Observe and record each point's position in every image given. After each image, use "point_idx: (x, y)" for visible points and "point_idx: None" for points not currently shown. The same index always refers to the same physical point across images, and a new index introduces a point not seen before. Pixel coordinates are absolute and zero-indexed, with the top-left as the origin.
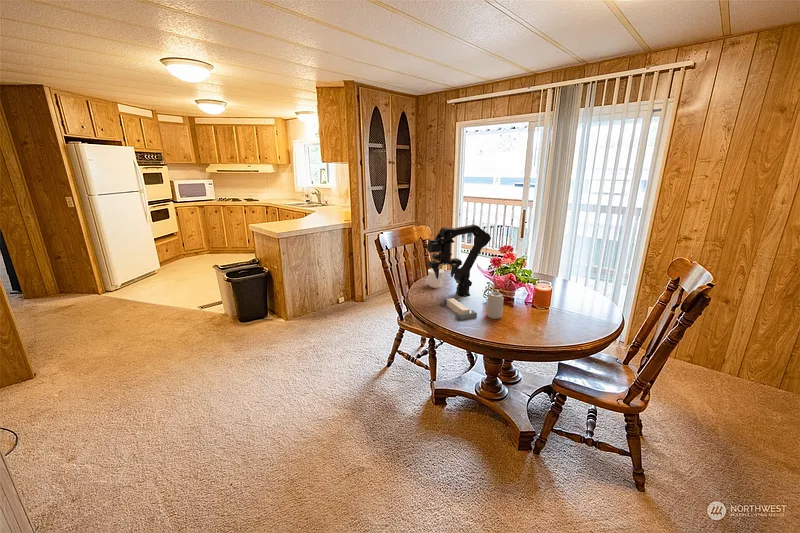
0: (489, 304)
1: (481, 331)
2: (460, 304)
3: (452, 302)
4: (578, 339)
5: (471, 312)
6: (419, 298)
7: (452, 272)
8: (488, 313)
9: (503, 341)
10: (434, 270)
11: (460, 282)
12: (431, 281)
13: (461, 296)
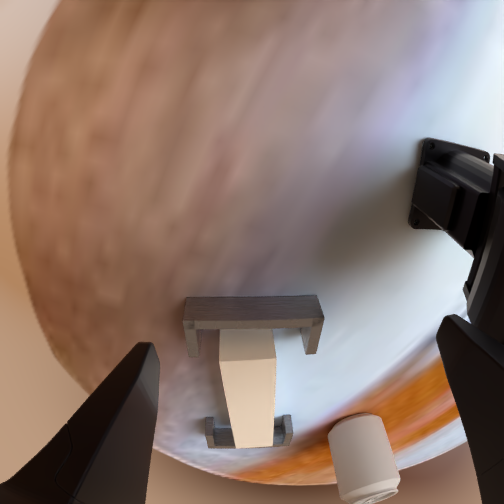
0: (336, 476)
1: (243, 464)
2: (262, 419)
3: (230, 399)
4: (399, 467)
5: (285, 425)
6: (58, 154)
7: (472, 406)
8: (329, 444)
9: (264, 480)
10: (47, 489)
11: (467, 305)
12: None
13: (412, 225)
